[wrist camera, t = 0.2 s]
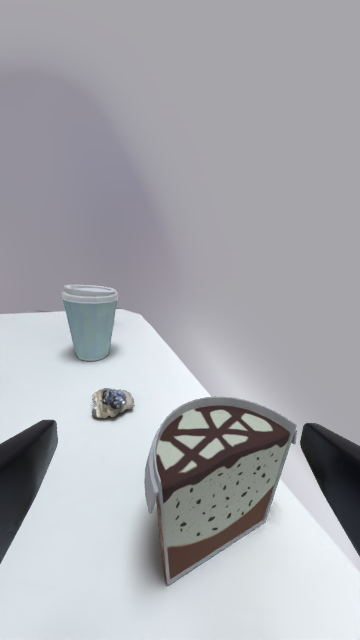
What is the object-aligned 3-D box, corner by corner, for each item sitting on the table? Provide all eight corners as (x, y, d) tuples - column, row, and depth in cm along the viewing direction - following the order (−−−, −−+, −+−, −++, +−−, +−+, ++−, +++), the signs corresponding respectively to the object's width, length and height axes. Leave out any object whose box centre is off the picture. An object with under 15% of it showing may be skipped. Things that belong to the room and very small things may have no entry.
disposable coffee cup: (96, 342, 55) (93, 280, 51) (130, 353, 50) (130, 286, 46) (55, 357, 46) (47, 284, 42) (91, 372, 41) (87, 292, 37)
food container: (233, 459, 25) (246, 382, 23) (277, 514, 20) (301, 422, 17) (124, 507, 20) (123, 413, 17) (146, 599, 15) (150, 486, 12)
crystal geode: (100, 429, 29) (99, 416, 28) (76, 398, 34) (75, 387, 33) (144, 407, 33) (144, 396, 33) (117, 383, 39) (117, 373, 38)
